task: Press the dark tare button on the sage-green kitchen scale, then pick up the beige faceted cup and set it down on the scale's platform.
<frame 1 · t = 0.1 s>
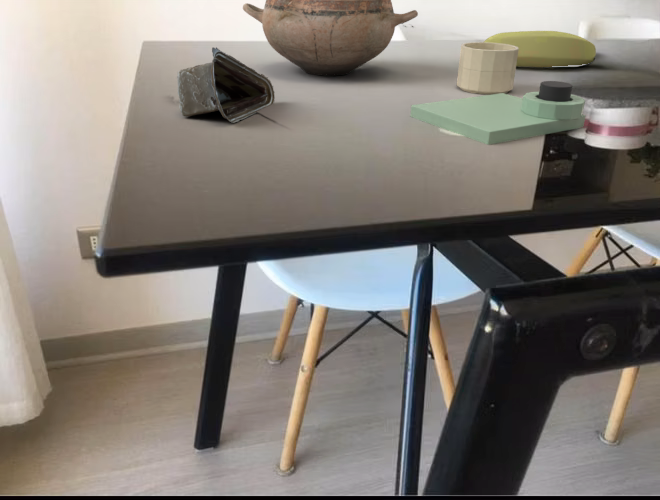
cooking pot: (327, 72, 93), on the table
hollow triangular tube: (223, 112, 70), on the table
beige faceted cup: (483, 90, 83), on the table
banana: (525, 65, 103), on the table
scale: (495, 122, 68), on the table
tare button: (555, 92, 66), point 4 cm above the table, slide at 0.2 cm
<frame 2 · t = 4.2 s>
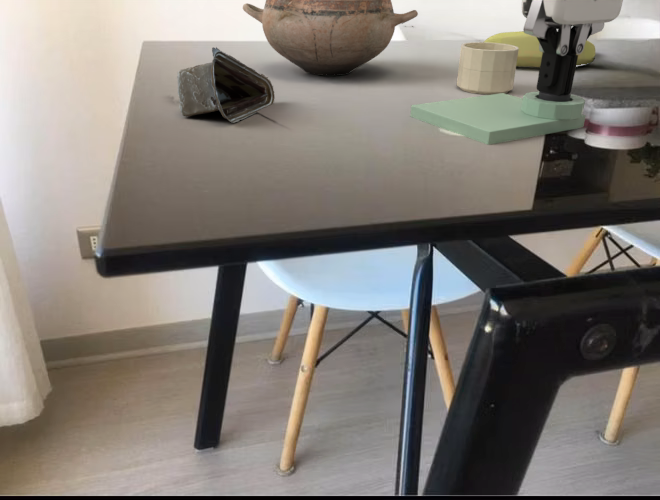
hand: (553, 92, 66), 4 cm above the table, tool pointing down, fingers closed
tare button: (553, 100, 67), point 3 cm above the table, slide at -0.7 cm, touching gripper
everything else where it was.
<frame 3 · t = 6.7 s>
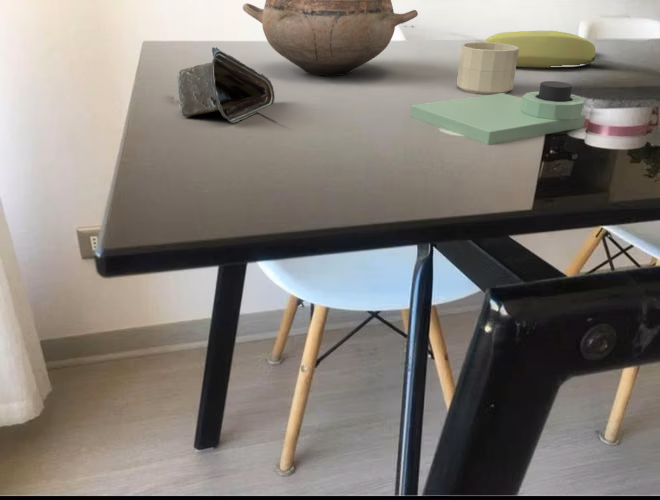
tare button: (555, 92, 66), point 4 cm above the table, slide at 0.2 cm
everything else where it was.
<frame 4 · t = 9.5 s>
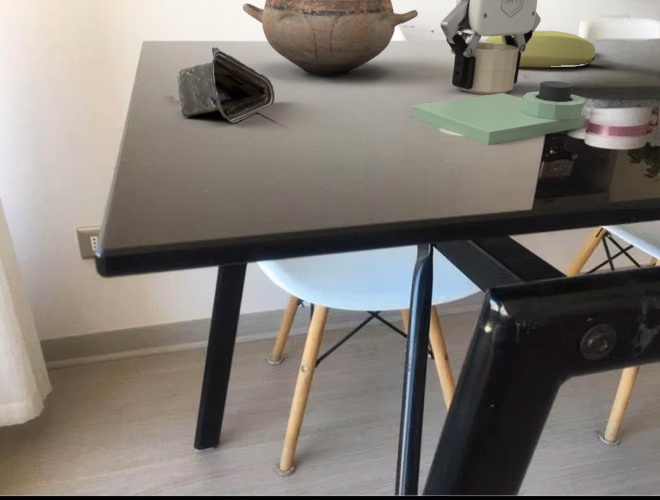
hand: (484, 83, 83), 1 cm above the table, tool pointing down, fingers closed on beige faceted cup, 7 cm apart
beige faceted cup: (483, 90, 83), on the table, touching gripper
everything else where it was.
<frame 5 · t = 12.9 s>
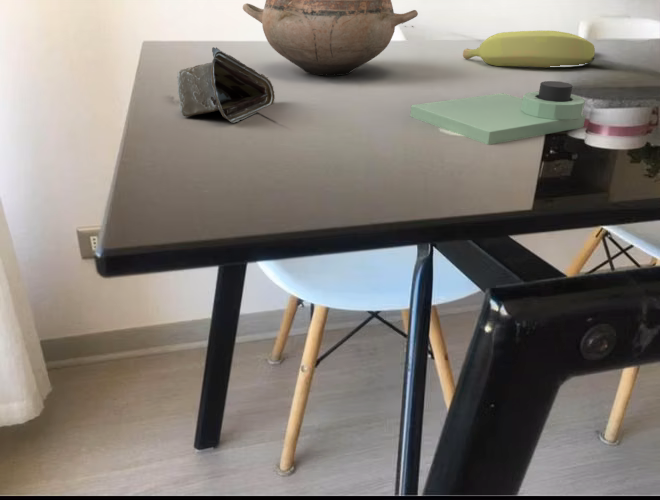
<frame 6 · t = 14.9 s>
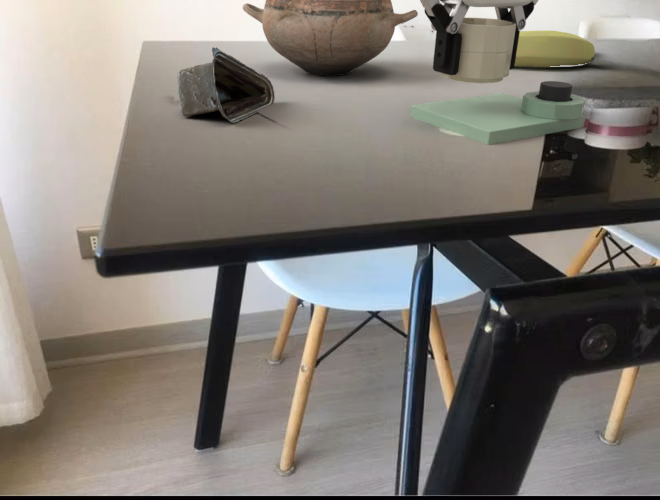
hand: (473, 68, 66), 6 cm above the table, tool pointing down, fingers closed on beige faceted cup, 7 cm apart
beige faceted cup: (472, 77, 67), point 5 cm above the table, touching gripper
everything else where it was.
when the fingers open (2 cm above the table, at t = 16.3 s): beige faceted cup stays where it is, resting on scale.
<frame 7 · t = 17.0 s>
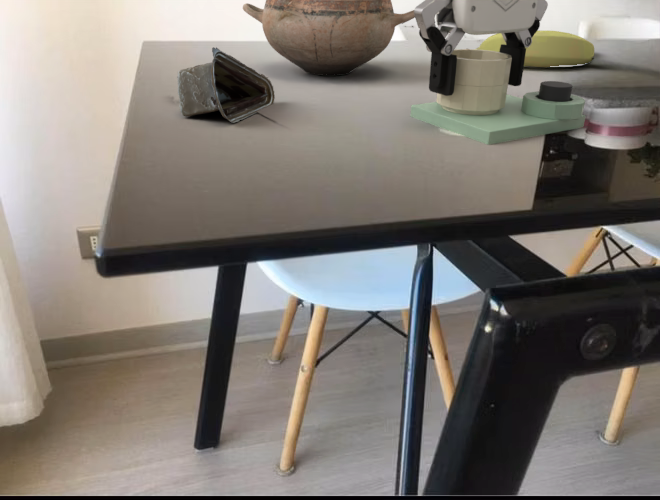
hand: (475, 88, 67), 4 cm above the table, tool pointing down, fingers open, 9 cm apart
beige faceted cup: (469, 107, 68), point 1 cm above the table, touching scale
everything else where it was.
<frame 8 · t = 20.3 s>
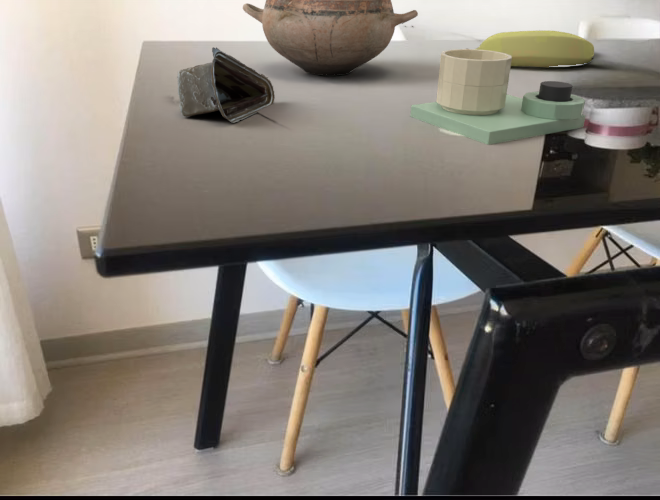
nothing on the table moved.
at the end: tare button pushed in 0.9 cm at the most during the clip, back to 0.2 cm at the end; beige faceted cup inside the target area on the scale (2.8 cm from its centre), point 1.4 cm above the scale's base; beige faceted cup tilted 0° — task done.
